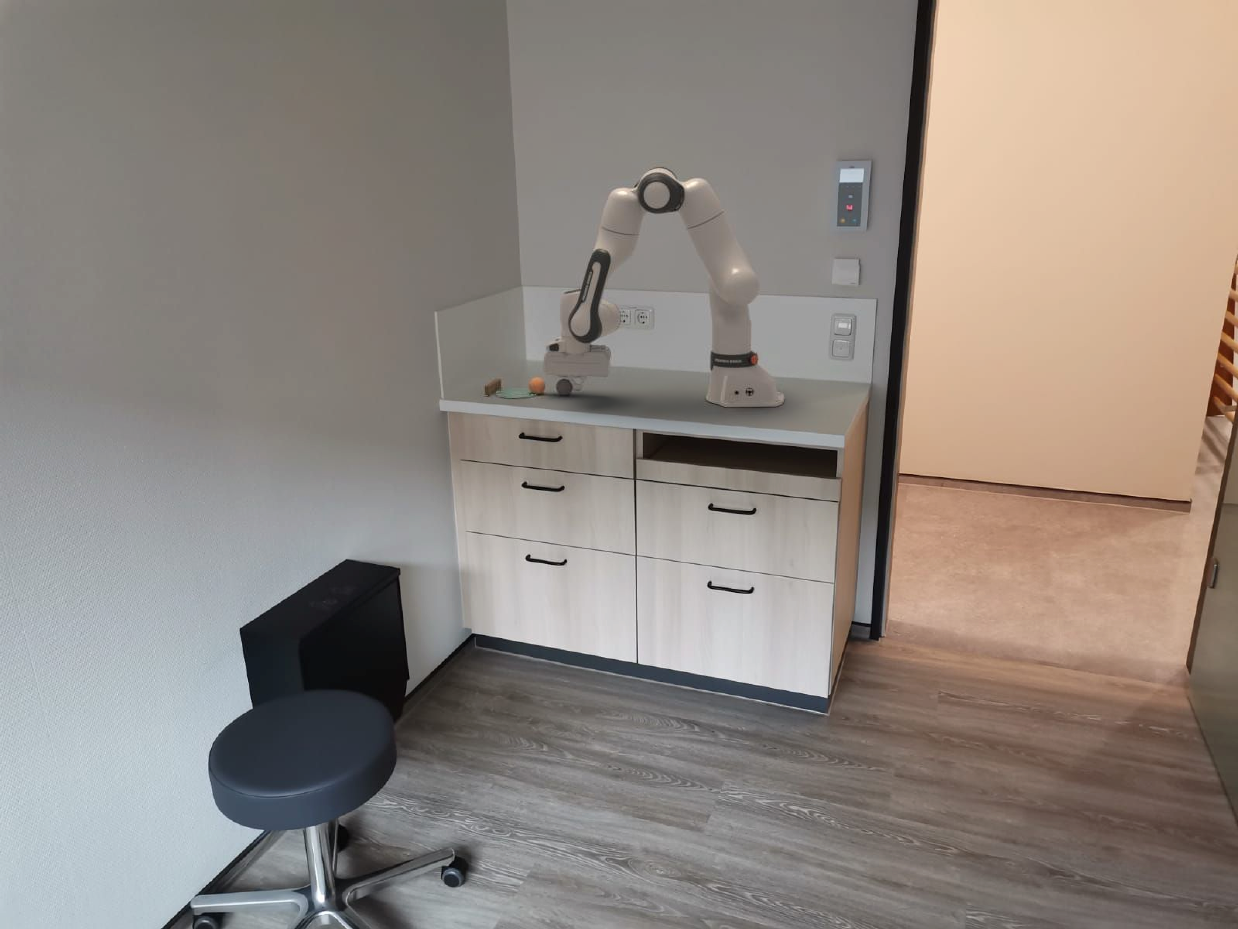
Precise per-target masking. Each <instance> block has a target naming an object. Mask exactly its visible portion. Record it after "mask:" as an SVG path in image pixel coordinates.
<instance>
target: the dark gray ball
mask: <svg viewBox="0 0 1238 929" xmlns="http://www.w3.org/2000/svg"><path fill="white" fill-rule="evenodd" d="M555 388H556V392H557V393H558V394H559V395H561V396H569V395H570V394H571V393H572V391H573V389H572V384H571V382H570V381H569V379H568V378H561V379H559V380H558V381H557V383H556V385H555Z"/></svg>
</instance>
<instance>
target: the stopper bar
mask: <svg viewBox="0 0 1238 929" xmlns="http://www.w3.org/2000/svg"><path fill="white" fill-rule="evenodd" d="M500 388H501V389H502V379H501V378H495V379H493V380H492V381H490V382H489V383H487V385H485V386H484V396H485V395H489V396H488V397H491V396H492V395H491V394H493V393H494V392H495V393H496V391H497V390H498V391H499V389H500ZM501 389H500V390H501ZM495 393H494V394H495ZM494 394H493V395H494ZM490 395H491V396H490Z"/></svg>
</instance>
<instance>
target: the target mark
mask: <svg viewBox="0 0 1238 929" xmlns="http://www.w3.org/2000/svg"><path fill="white" fill-rule="evenodd" d="M514 387H515V388H514ZM516 387H517V386H513V387H508V388H507V387H506V388H501V390H507V391H504V392H498V393H496V392H495V393H494V395H495V394H505V395H502V396H498V397H497V398H500V397H506V398H512V397H514V398H515V397H530V398H533V396H534V397H537V396H539V395H538V394H536V395H537V396H536V395H535V394H534V393H532V392H531V391H528V392H526V391H521V392H520V391H512V390H530V389H529V386H518V387H519V388H516ZM520 387H521V388H520ZM524 387H526V388H524ZM527 387H528V388H527ZM515 394H518V395H515ZM519 394H520V395H519ZM521 394H527V395H521ZM528 394H529V395H528ZM531 394H534V395H531ZM506 398H505V399H506Z"/></svg>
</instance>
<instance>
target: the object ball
mask: <svg viewBox="0 0 1238 929" xmlns="http://www.w3.org/2000/svg"><path fill="white" fill-rule="evenodd" d="M528 387H529V389H530V391H531V392H532V393H534V394H539V395H541V394H542V393H544V391H545V389H546V383H545V380H544V379H543V378H541V377H534V378H531V380H530V381H529V383H528ZM540 393H541V394H540Z"/></svg>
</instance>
